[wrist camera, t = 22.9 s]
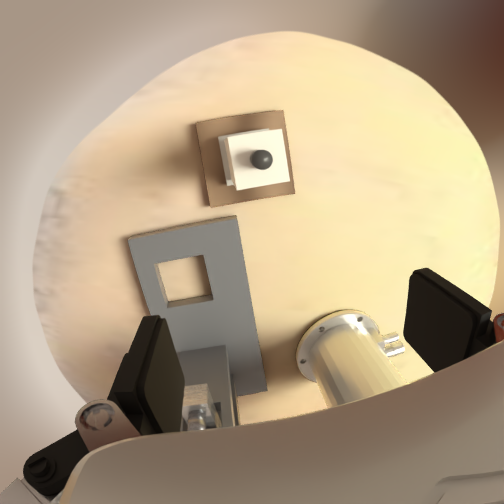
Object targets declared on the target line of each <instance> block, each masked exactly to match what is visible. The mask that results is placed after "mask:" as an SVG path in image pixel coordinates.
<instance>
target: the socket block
mask: <svg viewBox="0 0 504 504" xmlns="http://www.w3.org/2000/svg"><path fill="white" fill-rule="evenodd" d="M128 244H129V247H130V251H131V254H132V258H133V261H134V265H135V268H136V271H137V275H138V278H139V281H140V284H141V288H142V291H143V294H144V297H145V300H146V303H147V306H148V309H149V312H150V314H151V316H152V315H160V317H161V318H165V319H166V321H167V324H168V327H169V330H170V334H171V337H172V340H173V344H174V347H175V350H176V353H177V356H178V359H179V362H180V365H181V368H182V371H183V374H184V378H185V386H191V385H199V384H206V383H207V385H208V388H209V391H210V394H211V396H212V399H213V402H214V404H215V407H216V410H217V412H218V415H219V418H220V420H221V423H222V427H219V428H223V427H231V426H239V425H240V417H239V409H238V401H237V396H243V395H248V394H254V393H259V392H264V391H268V390H267V384H266V379H265V373H264V368H263V362H262V357H261V351H260V346H259V340H258V335H257V329H256V324H255V318H254V312H253V307H252V301H251V296H250V290H249V284H248V278H247V273H246V267H245V261H244V256H243V250H242V244H241V238H240V232H239V227H238V221H237V217H236V215H235V216H230V217H224V218H219V219H214V220H208V221H203V222H198V223H193V224H188V225H182V226H177V227H172V228H168V229H163V230H158V231H153V232H148V233H143V234H139V235H134V236H131V237H130V238H129V239H128ZM198 255H204V260H205V264H206V269H207V273H208V278H209V282H210V286H211V291H212V295H207V296H201V297H195V298H189V299H184V300H178V301H172V302H168V299H167V296H166V293H165V289H164V286H163V282H162V279H161V275H160V272H159V268H158V265H157V263H161V262H166V261H172V260H177V259H182V258H188V257H193V256H198ZM187 428H188V426H187V424H186V422H185V420H184V418H183V416H182V418H181V428H180V432H184V431H187ZM211 429H213V428H211Z"/></svg>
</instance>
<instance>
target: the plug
mask: <svg viewBox="0 0 504 504" xmlns="http://www.w3.org/2000/svg"><path fill="white" fill-rule="evenodd" d="M218 139H219V145H220V150H221V156H222V161H223V167H224V172H225V177H226V183H227V186H230V185H234V186H235V188H236V189H237V190H243V189H248V188H253V187H259V186H265V185H270V184H276V183H282V182H288V181H290V178H289V171H288V164H287V158H286V152H285V145H284V139H283V133H282V129H277V130H269V128H268V129H261V130H254V131H248V132H242V133H236V134H230V135H225V136H219V137H218Z"/></svg>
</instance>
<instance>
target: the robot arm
mask: <svg viewBox="0 0 504 504" xmlns="http://www.w3.org/2000/svg"><path fill="white" fill-rule="evenodd" d="M491 313H492V310H490V309H489V308H488V307H486V306H485V305H483V304H482V303H480V302H479V301H478V300H476V299H475V298H473V297H472V296H470V295H469V294H467V293H466V292H464V291H463V290H461V289H460V288H458V287H457V286H455V285H454V284H452V283H451V282H449V281H448V280H446V279H444V278H443V277H441V276H440V275H438V274H437V273H435V272H433V271H432V270H430V269H429V268H423V269H418V270H415V271H414V272H413V274H412V275H411V276H410V279H409V290H408V300H407V309H406V317H405V324H404V331H403V334H404V338H405V340H406V341H407V342H408V343H409V344H410V346H411V347H412V348H413V349H414V350H415V351H416V352H417V353H418V354H419V356H420V357H421V358H422V359H423V360H424V361H425V362H426V363H427V365H428V366H429V367H430V368H431V369H432V370H433V371H434V373H433V374H431V375H428V376H426V377H423V378H421V379H418V380H415V381H413V382H410V383H407V382H406V381H405V379H404V378H403V377H402V375H401V374H400V373H399V371H398V370H397V369H396V367H395V366H394V365H393V363H392V362H391V361H390V359H389V357H394V356H397V355H399V354H402V353H404V345H403V343H402V342H401V341H399V342H396V343H393V344H391V345H389V346H387V347H384V346H385V344H388V343H392V342H395V341H398V339H399V336H398V334H397V332H393V333H390V334H388V335H385V336H382V335H380V332H379V329H378V326H377V325H376V323H375V322H374V320H373V319H372V318H371V317H370V316H368V315H367V314H365V313H363V312H360V311H356V310H344V311H339V312H335V313H332V314H330V315H328V316H326V317H324V318H322V319H321V320H319V321H317V322H316V323H315V324H314V325H312V326H311V327H310V328H309V329H308V331H307V332H306V333H305V334H304V336H303V337H302V339H301V340H300V342H299V345H298V347H297V352H296V361H297V364H298V367H299V369H300V372H301V373H302V374H303V375H304V377H306V378H307V379H309V380H311V381H313V382H316V383H317V384H318V386H319V388H320V391H321V393H322V395H323V398H324V400H325V402H326V405H327V407H328V408H327V409H323V410H319V411H315V412H310V413H306V414H301V415H297V416H292V417H287V418H282V419H277V420H271V421H265V422H259V423H253V424H246V425H239V426H231V427H223V428H213V429H204V430H194V431H184V432H180V428H181V418H182V407H183V398H184V389H185V378H184V374H183V371H182V368H181V365H180V362H179V359H178V356H177V353H176V350H175V347H174V344H173V340H172V337H171V334H170V330H169V327H168V324H167V321H166V319H165V318H161V317H160V315H152V316H144V317H143V319H142V321H141V323H140V326H139V328H138V330H137V333H136V335H135V338H134V340H133V342H132V345H131V347H130V350H129V352H128V353H126V354H125V356H124V357H123V360H122V362H121V365H120V367H119V370H118V372H117V375H116V377H115V380H114V383H113V385H112V388H111V390H110V393H109V396H108V398H107V400H103V399H101V400H95V401H92V402H89V403H88V404H86V405H84V406H83V407H82V408H81V409H80V410H79V411H78V413H77V415H76V418H75V424H76V427H77V430H76V431H74V432H72V433H70V434H69V435H67V436H65V437H63V438H62V439H60V440H58V441H56V442H55V443H53V444H51V445H49V446H47V447H46V448H44V449H42V450H40V451H38V452H36V453H35V454H33V455H32V456H30V457H29V459H28V460H27V461H26V463H25V465H24V468H23V474H24V478H23V479H22V480H20V479H18V478H16V479H15V480H14V481H13V482H12V483H11V484H10V485H9V486H8V487H7V488H6V489H5V490H4V491H3V492H2V493H1V494H0V504H504V313H501V314H498V315H496V316H495V317H494V319H493V322H492V321H491V320H490V316H491Z"/></svg>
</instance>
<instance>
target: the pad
mask: <svg viewBox="0 0 504 504" xmlns="http://www.w3.org/2000/svg"><path fill="white" fill-rule="evenodd" d="M196 128H197V134H198V140H199V146H200V152H201V157H202V163H203V169H204V174H205V180H206V185H207V191H208V196H209V202H210V207H211V208H213V207H218V206H224V205H229V204H235V203H240V202H246V201H252V200H258V199H264V198H270V197H276V196H282V195H289V194H295V189H294V181H293V173H292V166H291V159H290V151H289V144H288V138H287V131H286V124H285V118H284V111H283V110H279V111H270V112H261V113H253V114H246V115H239V116H232V117H226V118H220V119H214V120H208V121H203V122H197V123H196ZM268 128H269V130H277V129H282V133H283V139H284V145H285V152H286V158H287V164H288V171H289V178H290V181H288V182H282V183H276V184H270V185H265V186H259V187H253V188H248V189H243V190H237V189H236V188H235V186H234V185H230V186H227V183H226V177H225V172H224V167H223V161H222V156H221V150H220V145H219V139H218V137H219V136H225V135H230V134H236V133H242V132H248V131H254V130H261V129H268Z"/></svg>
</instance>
